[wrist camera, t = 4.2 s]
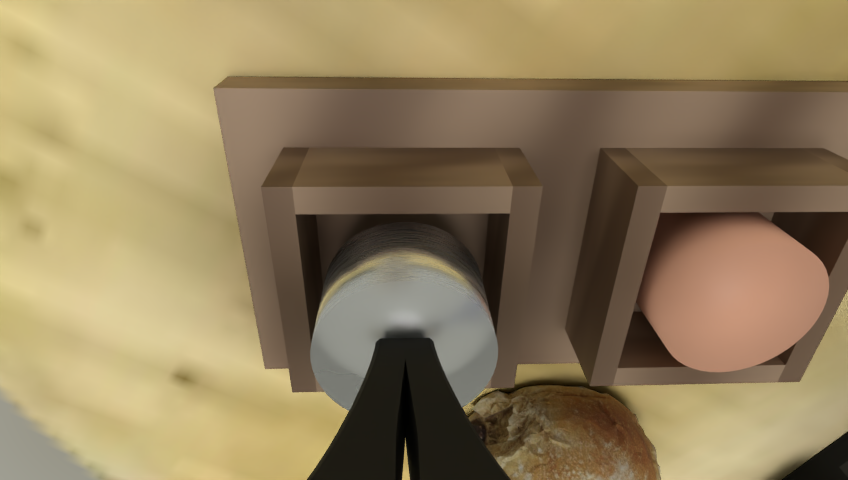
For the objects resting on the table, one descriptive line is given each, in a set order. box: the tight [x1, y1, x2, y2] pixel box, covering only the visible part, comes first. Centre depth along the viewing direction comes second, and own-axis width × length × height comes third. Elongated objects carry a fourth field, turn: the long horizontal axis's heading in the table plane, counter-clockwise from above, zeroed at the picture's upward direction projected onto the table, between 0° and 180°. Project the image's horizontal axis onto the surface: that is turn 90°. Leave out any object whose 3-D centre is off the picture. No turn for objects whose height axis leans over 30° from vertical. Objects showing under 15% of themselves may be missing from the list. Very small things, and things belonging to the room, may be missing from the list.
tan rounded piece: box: [636, 212, 829, 372], centre depth 16 cm, size 5×5×3 cm
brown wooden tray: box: [213, 77, 848, 392], centre depth 18 cm, size 21×11×4 cm, turn 89°
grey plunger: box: [310, 222, 498, 411], centre depth 14 cm, size 5×5×3 cm
